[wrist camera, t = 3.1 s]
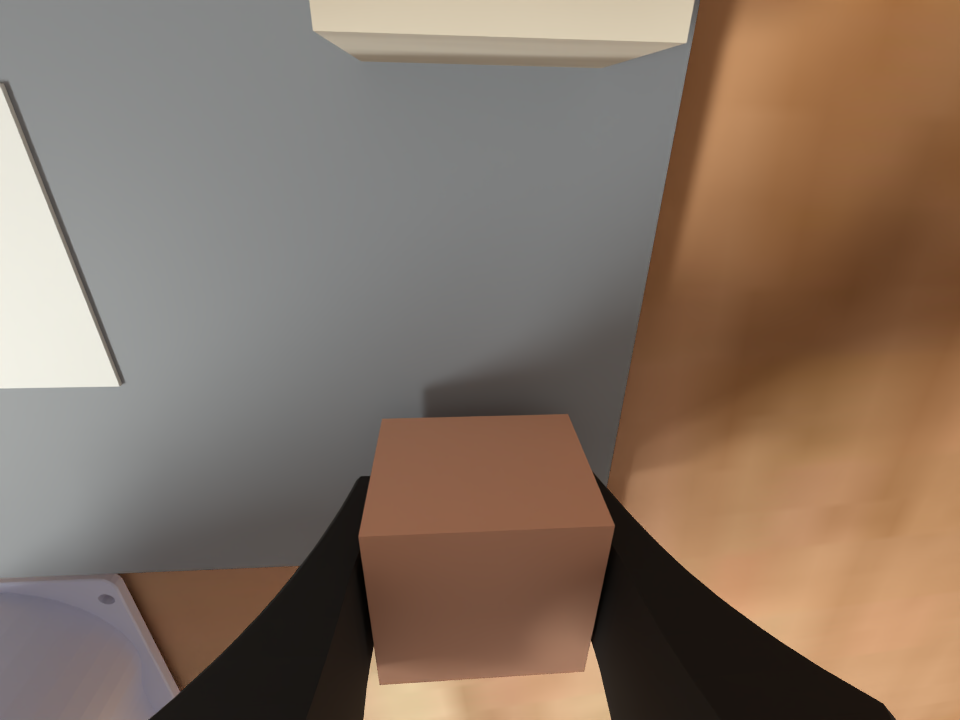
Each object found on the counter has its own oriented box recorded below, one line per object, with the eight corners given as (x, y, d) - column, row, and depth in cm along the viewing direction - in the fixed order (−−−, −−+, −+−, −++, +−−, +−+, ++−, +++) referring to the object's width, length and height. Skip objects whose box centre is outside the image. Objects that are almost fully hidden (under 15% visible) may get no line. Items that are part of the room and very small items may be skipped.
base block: (551, 543, 14) (584, 671, 11) (394, 550, 13) (379, 685, 10) (567, 413, 12) (614, 525, 8) (381, 418, 11) (358, 537, 8)
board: (584, 525, 17) (595, 555, 15) (-82, 550, 15) (-125, 586, 14) (742, -397, 7) (797, -492, 6) (-952, -563, 6) (-1295, -729, 5)
